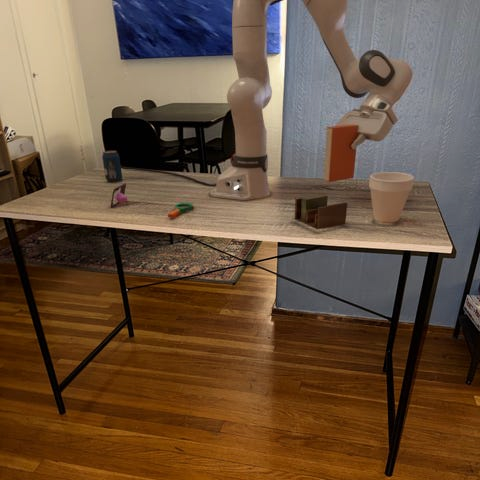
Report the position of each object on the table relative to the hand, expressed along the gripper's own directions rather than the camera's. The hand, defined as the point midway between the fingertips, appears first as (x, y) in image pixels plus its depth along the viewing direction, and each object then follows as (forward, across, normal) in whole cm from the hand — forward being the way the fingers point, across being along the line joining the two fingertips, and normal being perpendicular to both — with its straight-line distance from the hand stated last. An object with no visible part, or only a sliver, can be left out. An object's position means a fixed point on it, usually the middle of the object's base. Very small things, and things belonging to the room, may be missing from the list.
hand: (346, 147), depth 144 cm
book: (+8, 0, +5) cm, 10 cm away
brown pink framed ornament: (+58, -45, -31) cm, 79 cm away
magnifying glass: (+48, -24, -21) cm, 58 cm away
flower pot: (+14, +20, +14) cm, 28 cm away
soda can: (+52, -84, -25) cm, 102 cm away
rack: (+26, +11, +1) cm, 28 cm away
